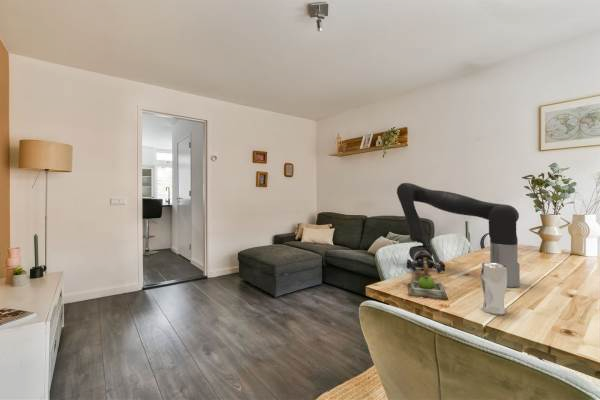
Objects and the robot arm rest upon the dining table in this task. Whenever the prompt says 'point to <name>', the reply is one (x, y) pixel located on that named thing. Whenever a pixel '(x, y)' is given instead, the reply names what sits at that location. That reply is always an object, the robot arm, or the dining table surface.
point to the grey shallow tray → (427, 291)
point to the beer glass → (494, 287)
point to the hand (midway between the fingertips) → (426, 269)
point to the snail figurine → (426, 278)
